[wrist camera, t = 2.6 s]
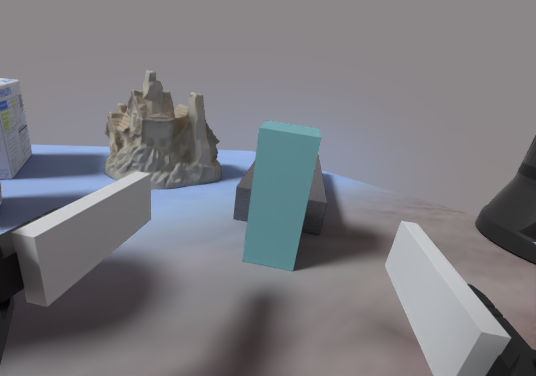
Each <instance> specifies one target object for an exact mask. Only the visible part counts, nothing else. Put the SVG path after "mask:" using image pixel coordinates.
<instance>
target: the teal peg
mask: <svg viewBox="0 0 536 376" xmlns="http://www.w3.org/2000/svg"><path fill="white" fill-rule="evenodd" d="M320 141H321V135H320V132H319V129H318V128H312V127H306V126H299V125H293V124H287V123H281V122H274V121H266V122H265V123H264V124H263V125H262V126H261V127H260V128H259V134H258V143H257V151H256V158H255V166H254V174H253V182H252V190H251V198H250V205H249V213H248V221H247V229H246V237H245V245H244V253H243V261H245V262H250V263H255V264H260V265H265V266H270V267H275V268H280V269H285V270H290V271H293V268H294V264H295V259H296V254H297V250H298V245H299V240H300V235H301V231H302V226H303V221H304V217H305V212H306V207H307V202H308V198H309V193H310V188H311V183H312V179H313V174H314V169H315V165H316V160H317V155H318V150H319V146H320Z"/></svg>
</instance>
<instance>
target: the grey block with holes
mask: <svg viewBox="0 0 536 376" xmlns="http://www.w3.org/2000/svg"><path fill="white" fill-rule="evenodd" d="M254 166H255V161H254V163H253V164H252V165H251V167H250V168H249V170H248V171H247V173H246V174H245V176H244V177H243V178H242V180H241V181H240V183H239V184H238V186H237V189H236V199H235V209H234V218H233V219H238V220H243V221H248V213H249V205H250V198H251V190H252V182H253V174H254ZM326 206H327V199H326V194H325V188H324V182H323V177H322V171H321V166H320V160H319V155H317V160H316V165H315V169H314V174H313V179H312V183H311V188H310V193H309V198H308V202H307V207H306V212H305V217H304V221H303V226H302V231H301V232H307V233H312V234H317V235H320V231H321V227H322V223H323V218H324V214H325V210H326Z"/></svg>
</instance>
